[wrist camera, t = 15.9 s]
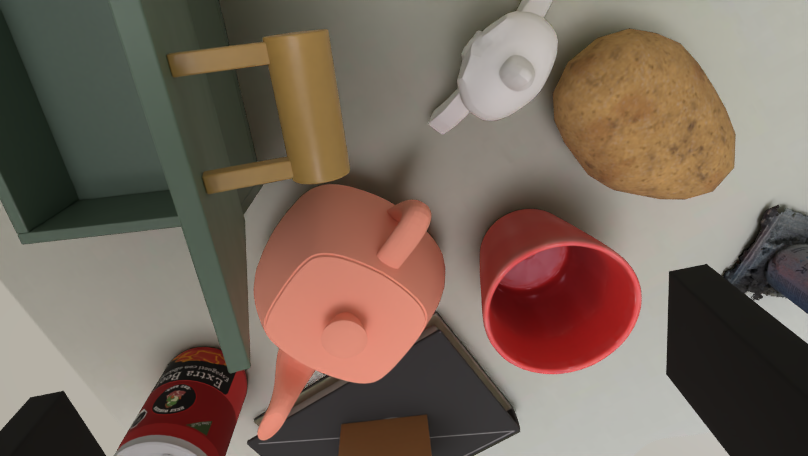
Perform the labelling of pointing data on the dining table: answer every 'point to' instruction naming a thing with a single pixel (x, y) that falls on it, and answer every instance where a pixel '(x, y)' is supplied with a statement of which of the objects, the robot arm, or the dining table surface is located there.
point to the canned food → (189, 408)
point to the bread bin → (91, 123)
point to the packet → (386, 437)
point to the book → (403, 403)
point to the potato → (644, 117)
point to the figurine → (502, 67)
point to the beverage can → (776, 259)
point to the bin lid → (204, 146)
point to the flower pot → (554, 293)
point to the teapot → (344, 289)
